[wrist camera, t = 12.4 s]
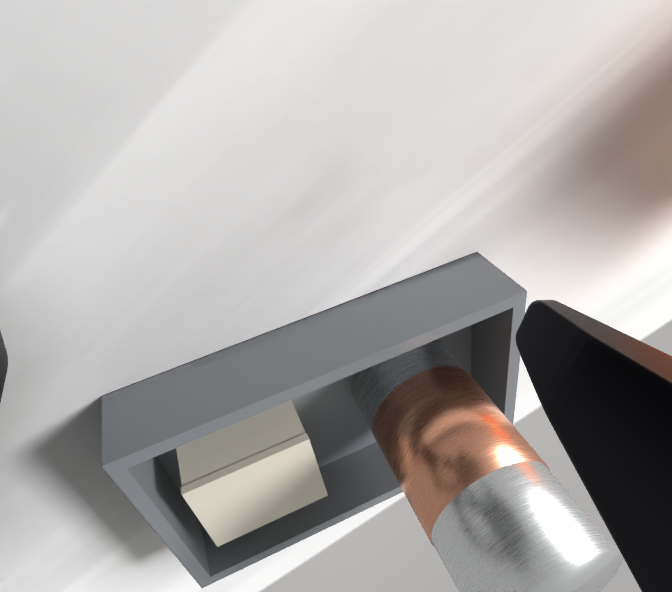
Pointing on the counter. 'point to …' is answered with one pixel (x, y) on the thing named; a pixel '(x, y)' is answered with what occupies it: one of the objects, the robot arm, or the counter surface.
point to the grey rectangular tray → (307, 403)
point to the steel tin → (478, 481)
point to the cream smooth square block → (250, 473)
